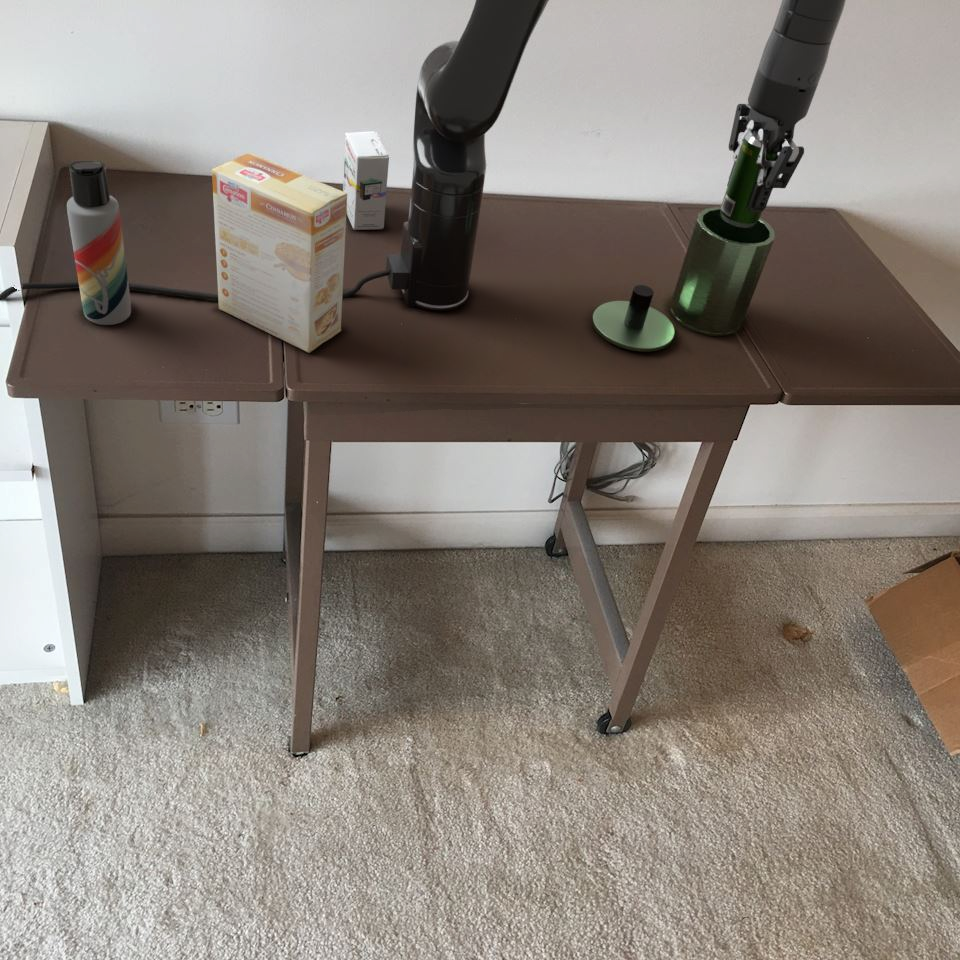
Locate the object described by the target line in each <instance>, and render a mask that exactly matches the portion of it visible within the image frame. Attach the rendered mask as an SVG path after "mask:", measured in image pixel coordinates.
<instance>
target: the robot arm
mask: <svg viewBox="0 0 960 960" xmlns="http://www.w3.org/2000/svg"><path fill="white" fill-rule="evenodd" d="M549 1H550V0H475V1H474V5H473V7H472V11H471V14H470V16H469V19H468V21H467V23H466V26H465V28H464V30H463V33H462V34H461V36H460V38H459V40H449V41H445V42H443V43H441V44H439V45H437V46H436V47H434V48H433V49H432V50H431V51H429V53H428V54H427V55H426V57H425V59H424V60H423V62H422V64H421V66H420V69H419V72H418V78H417V82H416V83H417V84H416V92H415V104H414V105H415V106H414V120H413V133H412V153H413V167H412V179H411V189H410V199H409V209H408V219H407V220H408V221H404V222H403V225H402V235H401V246H400V253H387V254H386V264H385V265H386V267H385V269H383V270H381V271H380V270H379V271H376V272H373V273H370V274H368V275H366V276H363V277H362V278H361V279H360V280H358V282H357V283H356V284H355V286H354V287H352V288H350V289H348V290H346V291H343V294H342V299H343V298H347V297H350V296H353V295H355V294H357V293H358V292H359V291H360V290H361V289H362V287H363V286H364V285H365V284H366V283H369V282H370V281H372V280H376V279H379V278H383V277H387V278H388V279H387V280H388V282H389V285H390V289H391V290H400V292H401V295H402V297H403V300H404V303H405V304H406V306H407V307H416V308H419V309H423V310H427V311H431V312H448V311H449V312H450V311H454V310H456V309H459V308H462V306H464V305H465V304H466V303H467V300H468V297H469V288H470V280H471V273H472V267H473V260H474V252H475V246H476V240H477V233H478V226H479V220H480V213H481V208H482V200H483V193H484V186H485V182H486V181H485V180H486V173H487V157H486V134H487V133H488V132H489V130H490V129H492V127H493V126H494V125H495V123H496V122H497V121H498V120H499V118H500V115H501V114H502V111H503V109H504V106H505V103H506V101H507V98H508V95H509V92H510V90H511V88H512V84H513V81H514V78H515V77H516V73H517V71H518V68H519V66H520V63H521V60H522V57H523V55H524V53H525V50H526V48H527V45H528V43H529V41H530V38H531V36H532V34H533V32H534V30H535V28H536V26H537V25H538V22H539V21H540V19H541V17H542V16H543V13H544V11H545V9H546V7H547V5H548V3H549ZM846 1H847V0H781V4H780V6H779V9H778V12H777V16H776V18H775V21H774V25H773V27H772V30H771V32H770V35H769V37H768V39H767V40H766V43H765V46H764V48H763V51H762V55H761V57H760V61H759V63H758V66H757V70H756V72H755V75H754V79H753V82H752V85H751V88H750V91H749V94H748V96H747V103H738V104H737V106H736V109H735V114H734V119H733V123H732V128H731V131H730V132H731V133H730V136H729V141H728V150H729V151H731V152H733V155H732V160H733V165H732V168H731V171H730V174H729V176H728V181H727V184H726V186H727V187H728V184H729V181H730V178H731V175H732V172H733V169H734V166H735V163H736V160H737V157H738V154H739V151H740V148H741V145H742V142H743V139H744V136H745V134H746V133H747V132H748V129H749V128H750V129H751V132H753V130H757V131H758V137H759V138H760V139H759V140H758V141H759V142H760V143H761V150H760V152H759V155H758V158H757V161H756V165H757V166H758V167H759V170H758V178H757V183H756V184H755V186H754V189H753V192H752V195H751V198H750V201H749V203H748V206H747V208H748V210H749V211H750V212H762V213H763V212H764V210H765V209H766V208H767V205H768V203H769V200H770V198H771V194H772V191H773V189H786V188H787V186H788V184H789V183H790V180H791V179H792V176H793V175H794V173H795V171H796V169H797V167H798V165H799V164H800V162H801V160H802V159H803V156H804V154H805V147H803V145H801V146H799V145H798V146H797V144H796V143H795V142H794V140H793V139H794V135H795V128H796V125H797V123H799V122H800V121H802V120H803V119H805V117H807V114H808V113H809V110H810V107H811V104H812V101H813V99H814V96H815V93H816V91H817V88H818V86H819V84H820V80H821V78H822V75H823V73H824V69H825V67H826V64H827V61H828V56H829V53H830V48H831V45H832V43H833V42H832V41H833V39H834V36H835V33H836V31H837V29H838V25H839V22H840V21H841V17H842V16H843V15H842V14H843V12H844V9H845V5H846ZM740 134H742V135H741V137H740ZM739 137H740V138H739ZM767 140H768V143H767ZM766 149H767V153H768V154H777V155H778V158H777V160H776V161H767V160H766V158H765V157H766ZM768 167H773V168H772V170H771V172H770V174H769V176H766V173H767V168H768ZM780 175H781V176H780ZM727 187H726V188H727ZM22 284H23V285H22V286H23V287H22V289H23V290H32V289H33V290H40V289H43V290H46V289H47V290H49V289H51V290H52V289H68V288H69V289H71V288H79V282H78V280H76V281H75V280H74V281H72V280H71V281H58V282H56V281H55V282H24V283H22ZM128 285H129V290H134V291H141V292H143V291H144V292H150V293H157V294H164V295H165V294H166V295H173V296H181V297H190V298H197V299H204V300H212V301H219V300H218V293H217V294H216V293H209V292H202V291H195V290H186V289H178V288H169V287H162V286H155V285H149V284H139V283H130V282H128ZM23 290H22V291H23ZM19 291H20V290H18V291H17V289H15V288H14V287H12V286H10V287H7V288H6V289H5V290H3V291H2V292H1V293H0V301H4V300H6V298H8V297H10V296H11V295H12V294H14V293H16V292H19Z"/></svg>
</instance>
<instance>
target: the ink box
mask: <svg viewBox="0 0 960 960" xmlns="http://www.w3.org/2000/svg"><path fill="white" fill-rule="evenodd" d="M343 161H344V162H343V176H342V177H343V181H342V182H343V183H342V191H343V192H345V193H347V209H346V216H347V218H348V220H349V223H350V225H351V227H352V229H353V230H354V231H366V230H367V231H368V230H383V229H384V227H385V214H386V200H387V190H388V189H387V188H388V177H389V176H388V175H389V164H390V156H389V153H388V151H387V148H386V147H385V145H384V142H383V141H382V138H381V136H380V135H379V133H378V132H377V131H372V130H371V131H355V132H354V131H353V132H345V142H344V159H343Z"/></svg>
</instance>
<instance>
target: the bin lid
mask: <svg viewBox="0 0 960 960" xmlns="http://www.w3.org/2000/svg"><path fill="white" fill-rule="evenodd" d="M653 297H654V290H653V288H651V287H649V286H647V285H645V284H644V285H643V284H638V285H634V287H633V288H632V292H631V296H630V299H629V300H613V301H608V302H605V303H602V304H601V305H599V306H597V308H596V309H595V310H594V312H593V314H592V318H591V323H592V326H593V329H594V330H595V331H596V333H597V334H598V335H599V336H600V337H601V338H603V339H604V340H605V341H607V342H608V343H610V344H612V345H614V346H616V347H620V348H623V349H624V350H625V349H626V350H630V351H633V352H643V353H645V352H648V353H649V352H657V351H660V350H663V349H665V348H667V347H668V346H670V344H672V342H673V341H674V338H675V327H674V325H673V323H672V321H671V320H670V319H669V318H668V317H667V316H666V315H665V314H663V312H660V311H659V310H657V309H655V308H654V307H651V303H652V300H653Z"/></svg>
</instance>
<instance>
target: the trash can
mask: <svg viewBox="0 0 960 960" xmlns="http://www.w3.org/2000/svg"><path fill="white" fill-rule="evenodd" d="M720 208H721V206H712V207H708V208H705V209H703V210H701V211H700V212H699V213H698V215H697V217H696V221H695V224H694V227H693V231H692V234H691V237H690V240H689V243H688V246H687V248H686V253H685V256H684V259H683V262H682V266H681V268H680V271H679V275H678V277H677V280H676V283H675V287H674V290H673V294H672V297H671V300H670V304H669V313H670V315H671V316H672V318H673V319H674V320H675V321H676V322H677V323H678V324H680V325H681V326H682V327H684V328H685V329H688V330H689V331H691V332H694V333H697V334H700V335H704V336H710V337H726V336H730V335H731V336H732V335H733V334H736V332H738V331H739V330H740V328H741V327H742V325H743V323H744V320H745V317H746V315H747V312H748V309H749V307H750V304H751V302H752V299H753V297H754V293H755V292H756V289H757V286H758V283H759V281H760V278H761V275H762V273H763V270H764V268H765V265H766V262H767V260H768V257H769V254H770V252H771V249H772V247H773V244H774V241H775V233H776V231H775V230H774V229H773V227H772V226H771V224H769V223H768V222H766V221H765V220H764V219H763V218H761V217H760V219H759V220H758V222H757V223H756V224H755V225H754V226H752V227H748V228H743V227H737V226H734V225H731V224H729V223H727V222H725V221H724V220H723V219H722V217H721V213H720Z"/></svg>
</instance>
